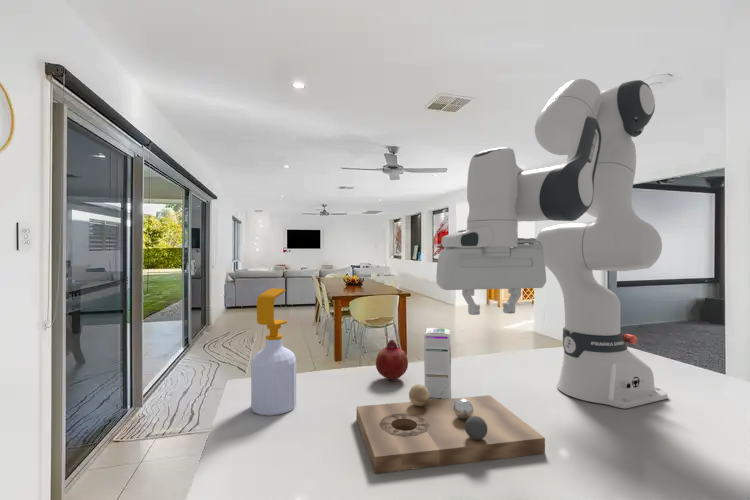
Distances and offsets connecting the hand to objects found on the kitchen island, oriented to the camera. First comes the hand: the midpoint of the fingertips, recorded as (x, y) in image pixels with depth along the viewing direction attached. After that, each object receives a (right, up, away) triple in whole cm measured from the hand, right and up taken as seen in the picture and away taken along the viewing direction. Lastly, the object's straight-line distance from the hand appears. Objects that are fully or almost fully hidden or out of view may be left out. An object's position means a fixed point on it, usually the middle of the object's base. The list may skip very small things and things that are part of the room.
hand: (491, 313), depth 69 cm
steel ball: (-5, -17, -1) cm, 18 cm away
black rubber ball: (-5, -17, -8) cm, 19 cm away
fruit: (-17, -21, +26) cm, 38 cm away
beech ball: (-13, -17, +5) cm, 21 cm away
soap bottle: (-42, -21, +10) cm, 48 cm away
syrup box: (-7, -21, +17) cm, 28 cm away
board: (-9, -21, -2) cm, 23 cm away
